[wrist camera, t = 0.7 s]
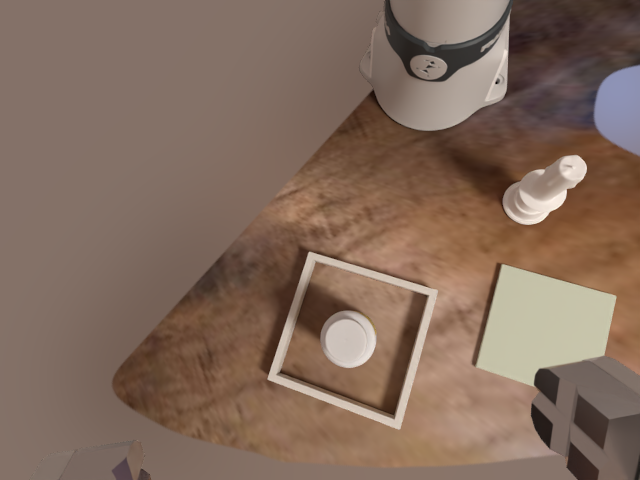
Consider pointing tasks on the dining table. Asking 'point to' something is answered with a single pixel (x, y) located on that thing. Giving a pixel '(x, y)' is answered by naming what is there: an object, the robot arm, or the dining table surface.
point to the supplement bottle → (348, 338)
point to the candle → (543, 190)
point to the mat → (542, 324)
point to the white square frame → (330, 396)
